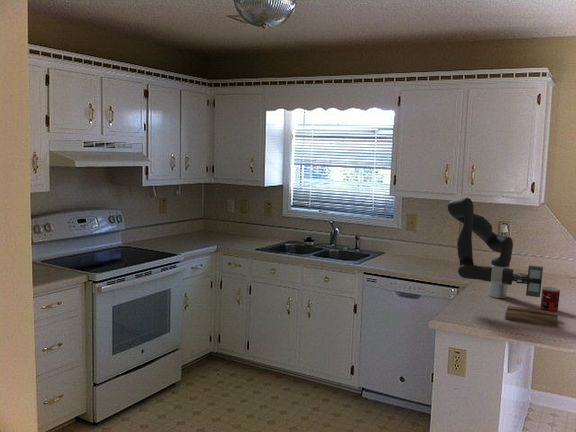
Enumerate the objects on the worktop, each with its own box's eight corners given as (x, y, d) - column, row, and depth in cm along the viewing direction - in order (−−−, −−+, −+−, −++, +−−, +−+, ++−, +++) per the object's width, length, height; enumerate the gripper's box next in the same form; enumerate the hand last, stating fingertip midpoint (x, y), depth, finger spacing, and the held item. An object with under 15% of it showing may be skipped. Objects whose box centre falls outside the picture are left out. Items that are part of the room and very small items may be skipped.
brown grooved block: (507, 312, 279) (508, 305, 279) (557, 320, 270) (558, 312, 269) (505, 319, 268) (505, 311, 267) (556, 327, 258) (557, 319, 258)
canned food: (537, 307, 292) (540, 286, 290) (553, 308, 291) (555, 287, 290) (544, 311, 284) (546, 290, 283) (560, 312, 284) (562, 290, 282)
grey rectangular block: (526, 294, 270) (529, 265, 269) (540, 296, 268) (543, 266, 266) (525, 295, 267) (528, 266, 266) (539, 297, 265) (542, 267, 263)
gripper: (501, 270, 266) (541, 275, 259) (504, 265, 279) (542, 270, 271) (499, 286, 267) (539, 292, 259) (502, 280, 279) (541, 286, 272)
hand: (541, 280), depth 265 cm, fingers closed on grey rectangular block, 3 cm apart
